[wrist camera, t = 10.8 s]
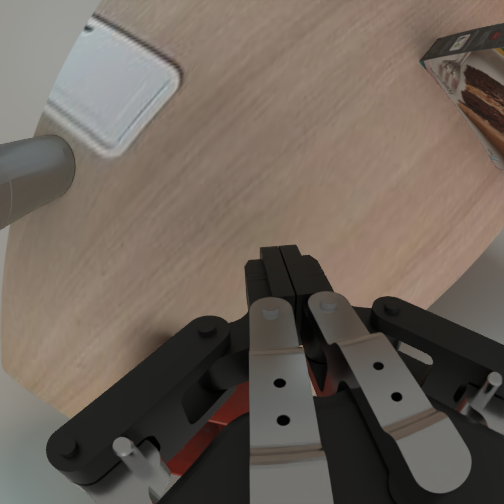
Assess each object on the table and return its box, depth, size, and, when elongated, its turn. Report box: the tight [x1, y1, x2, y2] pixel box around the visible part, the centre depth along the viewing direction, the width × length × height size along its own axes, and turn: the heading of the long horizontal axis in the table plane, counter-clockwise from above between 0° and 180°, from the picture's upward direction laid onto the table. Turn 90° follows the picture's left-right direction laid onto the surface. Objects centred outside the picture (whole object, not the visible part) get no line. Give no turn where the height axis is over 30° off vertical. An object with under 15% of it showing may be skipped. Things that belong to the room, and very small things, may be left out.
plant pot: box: [167, 381, 250, 476], centre depth 43 cm, size 19×19×17 cm
